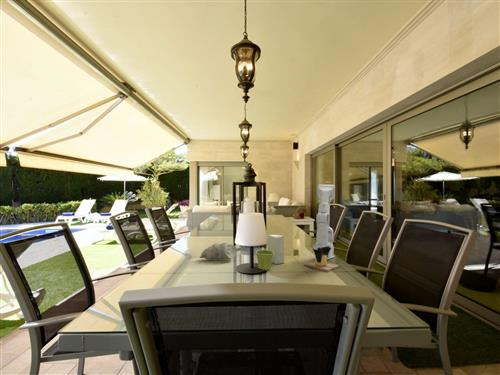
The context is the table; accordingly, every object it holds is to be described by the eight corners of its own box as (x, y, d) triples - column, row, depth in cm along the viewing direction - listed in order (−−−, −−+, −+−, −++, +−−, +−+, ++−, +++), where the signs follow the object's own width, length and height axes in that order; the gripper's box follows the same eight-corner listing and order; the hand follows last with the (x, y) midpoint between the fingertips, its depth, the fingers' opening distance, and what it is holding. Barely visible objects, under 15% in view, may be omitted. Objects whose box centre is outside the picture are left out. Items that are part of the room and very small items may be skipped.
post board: (316, 261, 160) (316, 254, 160) (339, 267, 150) (339, 259, 150) (303, 266, 151) (303, 258, 151) (327, 272, 141) (327, 264, 141)
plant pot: (268, 273, 137) (268, 255, 137) (251, 269, 142) (251, 252, 142) (276, 268, 144) (277, 251, 144) (260, 265, 149) (261, 249, 149)
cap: (319, 262, 155) (319, 252, 155) (328, 264, 151) (328, 254, 151) (313, 263, 151) (314, 253, 151) (323, 266, 147) (323, 255, 147)
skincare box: (284, 263, 155) (285, 236, 155) (275, 264, 152) (276, 237, 152) (274, 259, 162) (275, 233, 162) (266, 260, 159) (267, 234, 159)
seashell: (198, 261, 155) (198, 243, 155) (213, 255, 168) (214, 239, 168) (223, 265, 147) (223, 246, 147) (237, 259, 160) (237, 242, 160)
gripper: (322, 233, 158) (322, 257, 159) (308, 236, 148) (307, 261, 148) (334, 235, 154) (333, 259, 154) (320, 238, 143) (319, 264, 143)
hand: (321, 261), depth 151 cm, fingers closed on cap, 5 cm apart
